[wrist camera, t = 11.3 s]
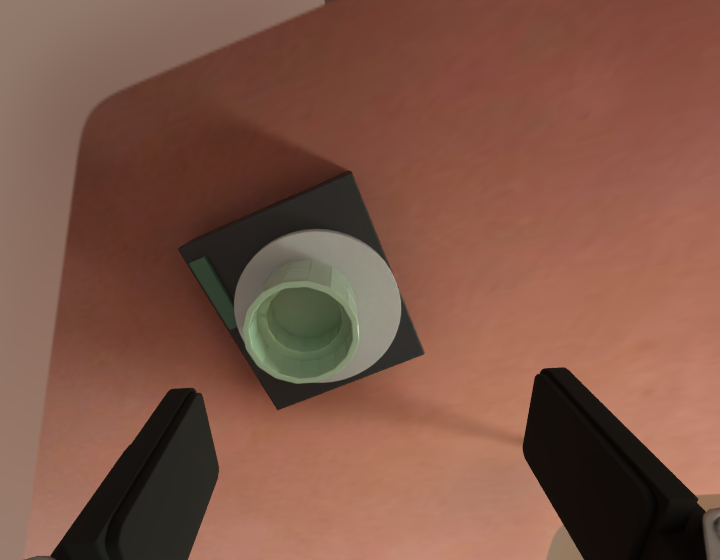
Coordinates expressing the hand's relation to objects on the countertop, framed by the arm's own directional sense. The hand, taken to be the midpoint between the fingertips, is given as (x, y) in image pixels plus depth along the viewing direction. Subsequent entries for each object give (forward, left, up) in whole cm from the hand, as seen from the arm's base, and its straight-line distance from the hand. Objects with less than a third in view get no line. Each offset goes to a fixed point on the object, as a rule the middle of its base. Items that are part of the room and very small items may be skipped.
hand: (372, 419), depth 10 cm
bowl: (+3, -3, -15) cm, 16 cm away
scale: (+3, -3, -19) cm, 20 cm away
